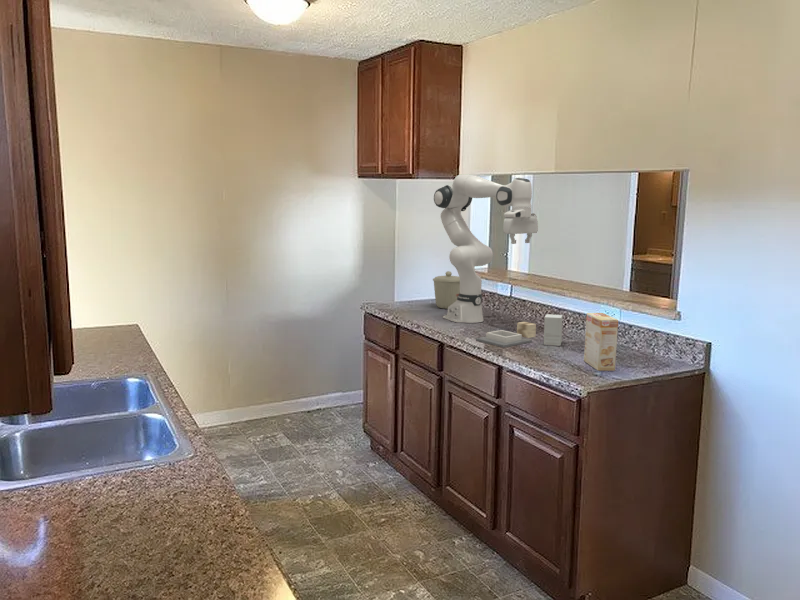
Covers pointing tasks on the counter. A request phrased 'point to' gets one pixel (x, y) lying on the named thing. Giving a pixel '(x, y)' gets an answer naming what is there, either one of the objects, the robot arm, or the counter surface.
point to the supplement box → (553, 329)
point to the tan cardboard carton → (526, 329)
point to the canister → (446, 289)
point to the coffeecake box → (601, 341)
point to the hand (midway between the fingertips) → (520, 243)
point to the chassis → (503, 338)
